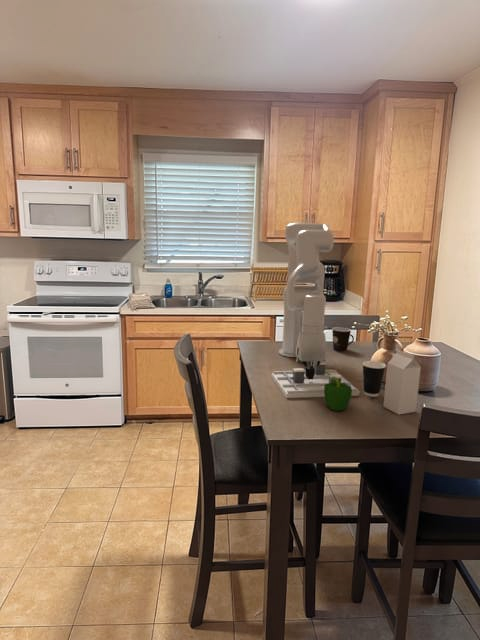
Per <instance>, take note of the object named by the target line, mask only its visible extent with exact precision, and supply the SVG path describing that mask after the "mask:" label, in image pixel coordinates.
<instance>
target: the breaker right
mask: <svg viewBox="0 0 480 640" xmlns="http://www.w3.org/2000/svg"><path fill="white" fill-rule="evenodd" d="M340 375H341V374H340ZM340 375H329V383H330V382H335V383H336V381H335V380H332V379H331V378H332V377H336V378H337V379H338V380H339V383H341V376H340Z"/></svg>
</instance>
